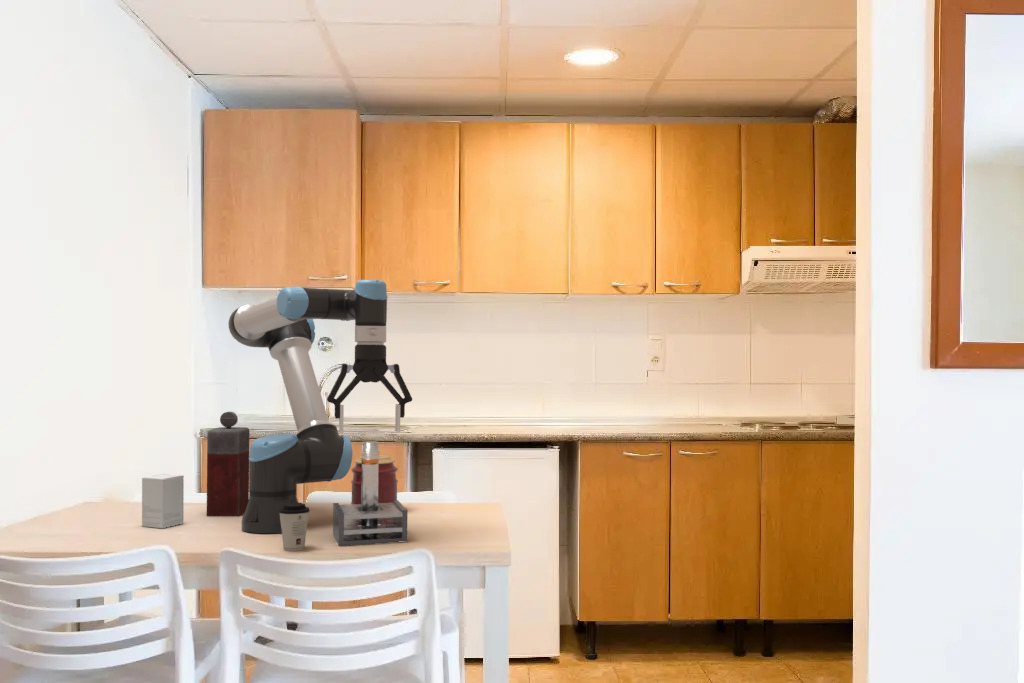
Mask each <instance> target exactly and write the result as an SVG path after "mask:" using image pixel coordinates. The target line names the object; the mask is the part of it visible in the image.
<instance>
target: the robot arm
mask: <svg viewBox="0 0 1024 683" xmlns="http://www.w3.org/2000/svg"><path fill="white" fill-rule="evenodd" d="M354 287H355V288H354V289H337V288H334V289H333V288H316V287H315V288H313V287H301V286H292V287H291V286H287V287H286V286H285V287H283V288H281V289H280V290H279V292H278V294H277V296H276V297H274V298H270V299H267V300H266V301H263V302H260V303H257V304H250V303H249V304H246V305H245V304H244V305H242V306H240V307H238V308H236V309H235V310H234V311H233V312H232V313H231V315H230V316H229V319H228V330H229V333H230V334H231V336H232V338H233V339H234V340H236V341H237V342H238V343H240V344H241V345H244V346H246V347H250V348H268V351H269V353H270V354H269V355H270V357H271V358H272V359H274V360H276V361H277V362H278V366H279V370H280V373H281V376H282V380H283V384H284V387H285V392H286V394H287V398H288V402H289V406H290V408H291V412H292V415H293V420H294V423H295V427H296V430H297V432H296V433H278V434H276V433H275V434H270V435H265V436H261V437H258V438H255V439H254V440H253V441H252V442H251V444H250V445H249V501H248V504H247V507H246V510H245V513H244V514H243V515H242V520H241V530H242V531H244V532H245V533H253V534H279V533H280V534H282V530H281V521H280V513H279V510H280V508H283V506H284V504H288V503H300V502H299V500H298V497H297V496H298V494H297V490H298V489H297V486H298V485H299V484H312V483H313V484H314V483H322V482H328V483H329V482H332V481H337V480H342V479H343V478H345V477H346V475H348V473H349V471H350V469H351V466H352V461H353V446H352V442H351V439H350V438H349V437H348V436H346V435H344V408H345V407H344V404H341V403H342V402H344V401H345V399H346V398H347V397H348V396H349V395H350V393H351V392H352V391H353V390H354V389H355V387H357V385H358V384H359V383H360V382H363V383H379V382H380V383H381V384H382V385H384V387H385V388H386V389H387V390H388V392H389V393H390V394H391V395H392V396H393V398H394V399H395V400H396V401H397V402H398V403H396V404H395V410H394V411H395V416H394V417H395V418H394V419H395V421H394V422H395V424H394V430H395V432H397V433H399V432H401V418H402V419H403V418H405V416H406V415H405V414H406V413H405V412H406V411H405V410H406V409H405V406H406V404H407V403H410V402H412V401H413V397H412V394H411V393H410V391H409V389H408V386H407V384H406V382H405V381H404V378H403V376H402V374H401V370H400V365H399V364H398V363H394V364H387V346H386V345H385V343H387V319H388V318H387V315H388V312H387V311H388V307H387V306H388V295H387V294H388V293H387V291H388V290H387V284H386V282H385V281H384V280H380V279H357V281H356V282H355V286H354ZM314 320H331V321H332V320H335V321H337V320H338V321H339V320H340V321H342V322H343V321H344V322H345V321H346V322H349V321H355V322H354V323H355V324H354V342H355V343H357V344H355V346H354V363H353V365H352V364H346V363H342V364H341V367H340V373H339V375H338V376H337V379H336V381H335V382H334V384H333V387H332V389H331V391H329V394H328V396H327V398H326V401H327V402H328V403H330V404H334V418H335V419H338V426H339V427H337V425H336V424H333V423H331V422H330V420H329V417H328V414H327V410H326V407H325V403H324V401H323V397H322V393H321V391H320V387H319V384H318V381H317V377H316V373H315V370H314V366H313V363H312V360H311V357H310V353H309V352H310V350H311V349H312V346H313V343H314V342H315V338H316V332H315V330H316V325H315V321H314ZM351 370H352V371H353V372H354V374H355V377H353V379H352V380H351V381H350V383H349V384H348V385H347V386H346V387H345V388H344V390H342V392H341V393H340V394H339V395H338V396H337V397H336V395H337V393H338V392H339V390H340V387H341V386H342V384H343V382H344V380H345V378H346V376H347V374H350V372H351ZM388 370H389V371H390V374H393V376H394V378H395V381H396V383H397V384H398V386H399V389H400V390H401V393H402V394H403V396H401V394H400V393H399V392H398V390H396V389H395V386H393V385H392V384H391V382H389V380H388V379H387V378H386V376H385V375H386V373H387V371H388ZM339 433H340V434H341V435H340V434H339Z"/></svg>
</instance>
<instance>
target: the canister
mask: <svg viewBox="0 0 1024 683" xmlns="http://www.w3.org/2000/svg"><path fill="white" fill-rule="evenodd" d="M395 461H396V460H395V459H394V458H392V457H391V456H390V455H385V454H379V464H378V503H393V501H395V500H398V481H399V480H398V479H397V471H398V470H399V468H398V467H397V466H396V465H395V464H394V463H395ZM353 462H354V463H355V465H354V467H352V468H350V469H351V472H352V480H351V481H350V483H351V501H350V504H361V486H362V455H360V456H359V457H358V458H356V459H355V460H353ZM378 511H380V510H378Z"/></svg>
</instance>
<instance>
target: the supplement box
mask: <svg viewBox="0 0 1024 683" xmlns="http://www.w3.org/2000/svg"><path fill="white" fill-rule="evenodd" d="M184 481H185V480H184V475H181V474H170V473H169V474H168V473H160V474H156V475H150V476H149V475H148V476H144V477H142V478H141V527H146V528H156V529H167V528H171V527H170V526H172V527H175V525H176V526H179V525H178V524H180V525H183V524H184V512H185V511H184V494H185V493H184V483H185V482H184ZM166 527H167V528H166Z"/></svg>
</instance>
